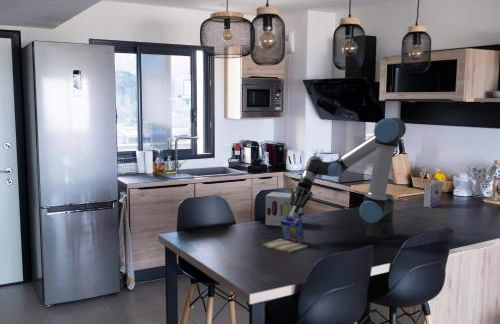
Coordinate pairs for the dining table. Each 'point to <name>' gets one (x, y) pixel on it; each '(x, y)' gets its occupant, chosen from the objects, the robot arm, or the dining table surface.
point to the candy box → (432, 194)
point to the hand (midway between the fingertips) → (291, 217)
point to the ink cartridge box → (292, 229)
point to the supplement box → (278, 208)
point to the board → (285, 245)
